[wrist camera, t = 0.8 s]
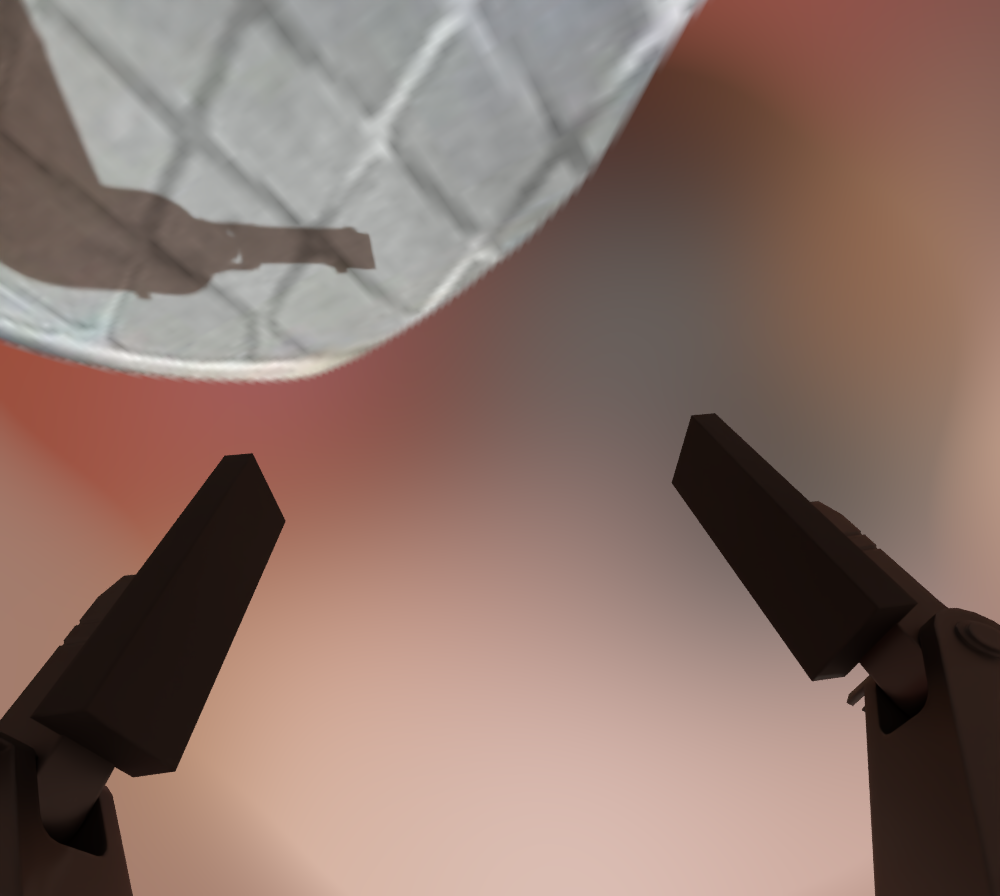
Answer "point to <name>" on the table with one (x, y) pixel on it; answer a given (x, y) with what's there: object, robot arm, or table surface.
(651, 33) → the table surface
